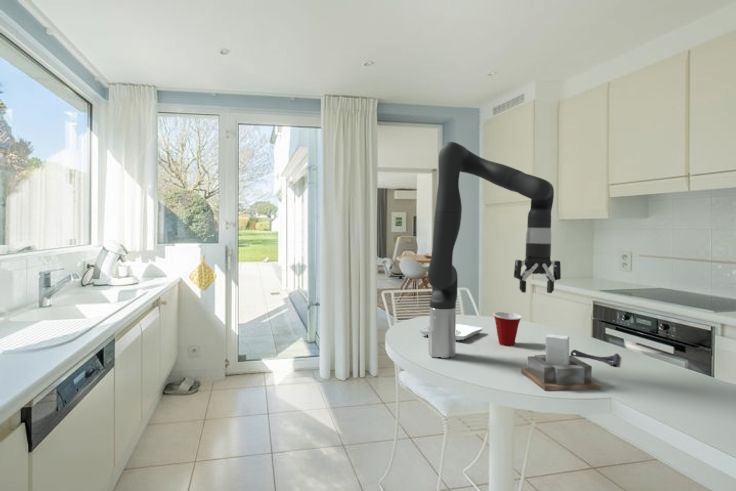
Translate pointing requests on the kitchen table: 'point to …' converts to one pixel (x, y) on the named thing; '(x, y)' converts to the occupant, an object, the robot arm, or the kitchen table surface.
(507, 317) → the plastic cup
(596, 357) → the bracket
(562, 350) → the skincare box
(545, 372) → the holder
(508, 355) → the kitchen table surface
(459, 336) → the salad plate
